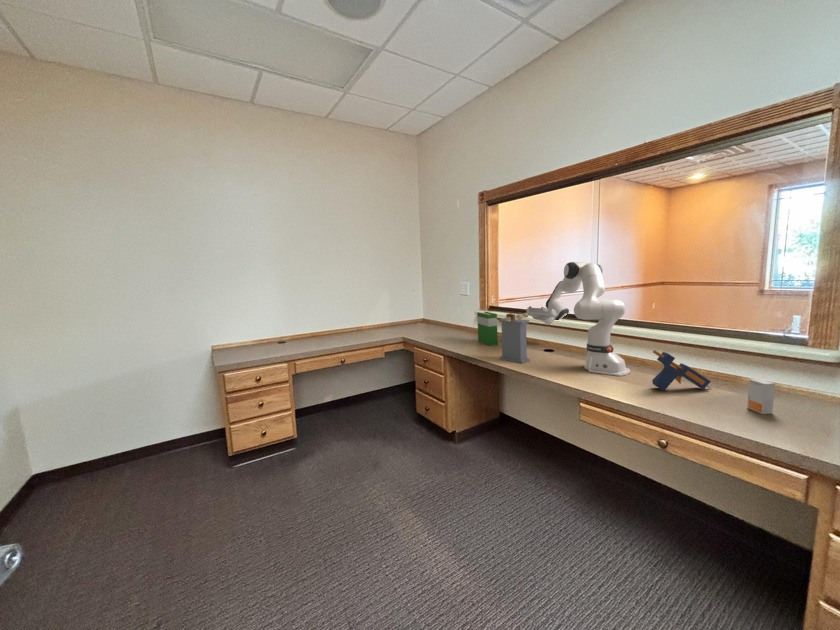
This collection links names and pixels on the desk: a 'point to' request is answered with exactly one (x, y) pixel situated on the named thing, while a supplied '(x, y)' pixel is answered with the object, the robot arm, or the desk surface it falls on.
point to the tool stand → (514, 340)
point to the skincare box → (761, 396)
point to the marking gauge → (515, 316)
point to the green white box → (487, 328)
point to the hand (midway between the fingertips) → (535, 307)
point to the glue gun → (676, 373)
